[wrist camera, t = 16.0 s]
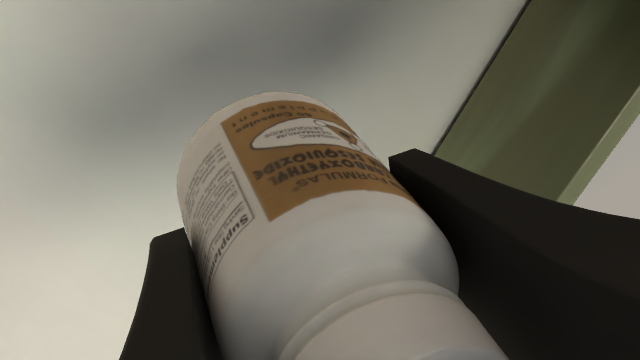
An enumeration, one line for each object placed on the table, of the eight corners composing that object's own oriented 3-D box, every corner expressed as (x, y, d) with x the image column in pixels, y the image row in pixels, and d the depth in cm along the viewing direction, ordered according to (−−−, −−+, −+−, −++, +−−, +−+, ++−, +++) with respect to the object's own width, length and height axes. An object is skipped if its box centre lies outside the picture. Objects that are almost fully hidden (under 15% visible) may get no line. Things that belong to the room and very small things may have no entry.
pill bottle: (380, 114, 15) (607, 335, 9) (309, 258, 16) (457, 534, 10) (213, 59, 13) (352, 300, 6) (148, 231, 14) (211, 558, 8)
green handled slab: (646, 36, 26) (788, 92, 21) (494, 252, 29) (583, 345, 24) (550, -33, 22) (692, 13, 17) (392, 220, 26) (471, 320, 21)
